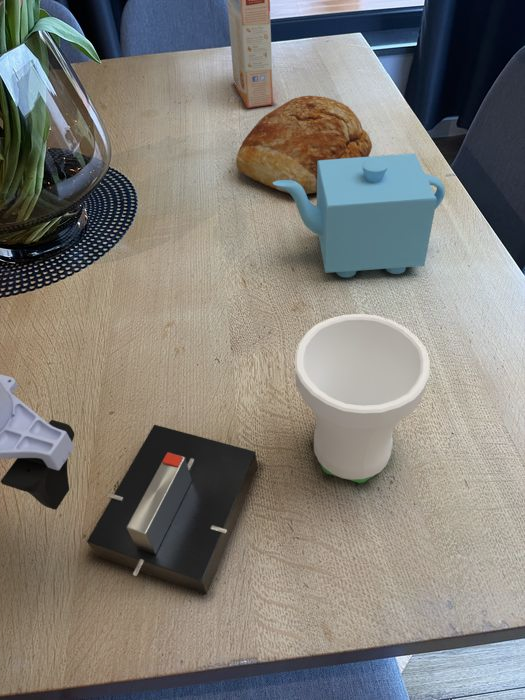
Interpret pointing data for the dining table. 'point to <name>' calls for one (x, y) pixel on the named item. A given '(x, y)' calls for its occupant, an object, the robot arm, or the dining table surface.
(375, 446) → the cup
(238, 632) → the dining table surface
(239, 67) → the cracker box
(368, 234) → the teapot
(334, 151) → the bread
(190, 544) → the switch base
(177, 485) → the red-topped metal block
